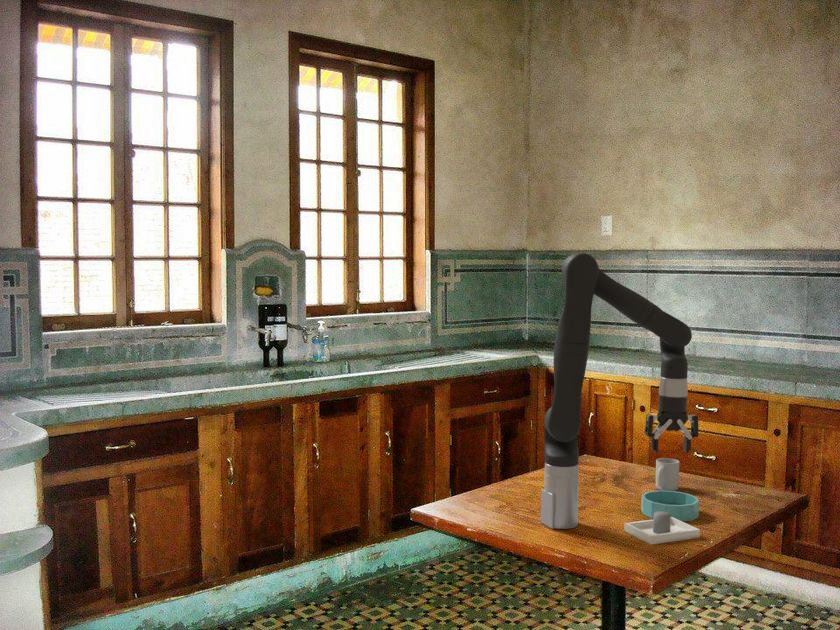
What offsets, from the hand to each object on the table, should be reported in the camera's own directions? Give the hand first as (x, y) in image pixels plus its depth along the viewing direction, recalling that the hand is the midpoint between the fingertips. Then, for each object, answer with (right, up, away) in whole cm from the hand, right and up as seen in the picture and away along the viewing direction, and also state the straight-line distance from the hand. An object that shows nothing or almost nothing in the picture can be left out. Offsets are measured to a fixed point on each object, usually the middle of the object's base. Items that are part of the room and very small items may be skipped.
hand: (670, 452), depth 237 cm
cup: (+10, -18, +39) cm, 44 cm away
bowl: (+3, -20, +13) cm, 24 cm away
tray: (-4, -21, -6) cm, 22 cm away
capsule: (-4, -21, -6) cm, 22 cm away
